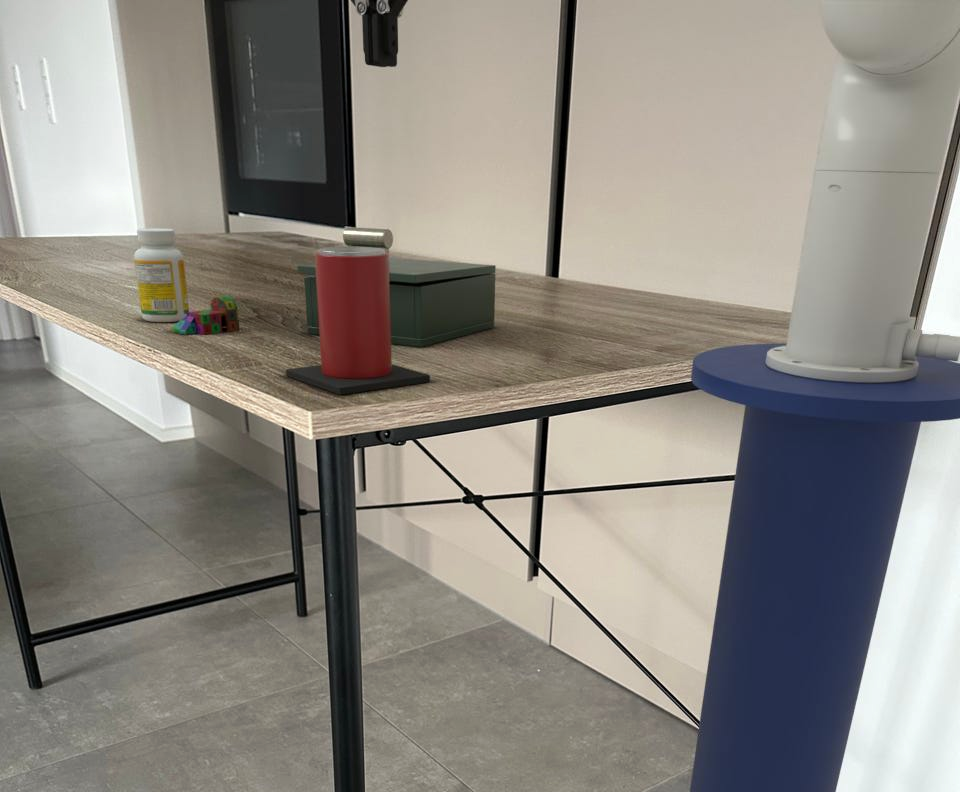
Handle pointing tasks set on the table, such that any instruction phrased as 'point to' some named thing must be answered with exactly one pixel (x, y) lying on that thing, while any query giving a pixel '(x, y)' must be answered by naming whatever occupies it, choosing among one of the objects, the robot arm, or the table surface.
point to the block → (210, 318)
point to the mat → (357, 380)
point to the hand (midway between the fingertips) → (381, 65)
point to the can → (354, 312)
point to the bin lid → (405, 260)
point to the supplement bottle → (160, 276)
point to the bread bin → (428, 309)
